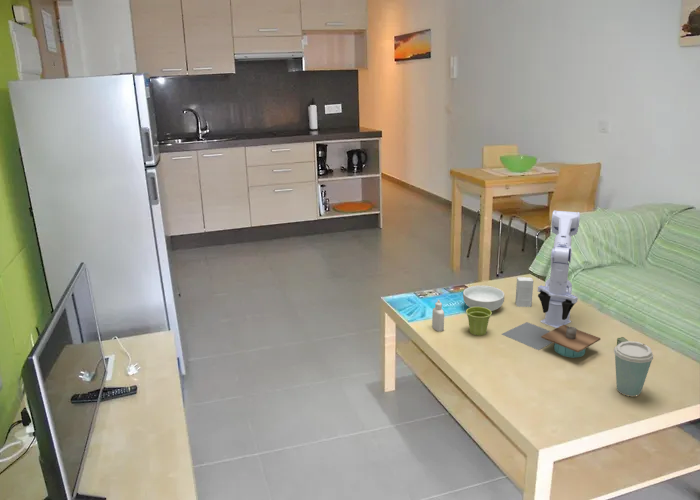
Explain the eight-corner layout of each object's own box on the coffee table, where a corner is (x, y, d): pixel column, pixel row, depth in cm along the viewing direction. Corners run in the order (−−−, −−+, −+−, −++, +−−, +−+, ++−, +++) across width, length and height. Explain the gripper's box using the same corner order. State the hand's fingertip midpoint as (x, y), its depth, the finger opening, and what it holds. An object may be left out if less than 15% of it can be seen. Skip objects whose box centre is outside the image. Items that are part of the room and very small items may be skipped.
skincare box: (529, 303, 231) (531, 277, 228) (531, 307, 227) (533, 280, 224) (514, 303, 232) (516, 276, 228) (516, 307, 228) (518, 280, 224)
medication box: (615, 347, 194) (616, 337, 193) (622, 346, 195) (623, 336, 193) (638, 364, 183) (639, 354, 182) (645, 363, 183) (647, 353, 182)
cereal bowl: (461, 299, 237) (462, 284, 235) (500, 300, 235) (501, 285, 233) (463, 316, 221) (464, 300, 219) (506, 317, 219) (507, 301, 217)
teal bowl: (564, 341, 199) (565, 329, 197) (590, 352, 191) (591, 339, 190) (548, 350, 193) (549, 337, 191) (574, 361, 185) (576, 348, 184)
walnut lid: (563, 326, 200) (564, 316, 198) (600, 339, 189) (601, 329, 188) (541, 337, 192) (542, 327, 190) (578, 352, 181) (579, 342, 180)
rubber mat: (526, 322, 214) (526, 322, 214) (563, 337, 202) (564, 336, 202) (501, 335, 205) (501, 334, 205) (538, 351, 193) (538, 350, 193)
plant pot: (462, 336, 205) (463, 315, 202) (467, 325, 213) (468, 305, 210) (488, 340, 201) (489, 318, 199) (492, 329, 210) (493, 308, 207)
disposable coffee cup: (629, 404, 161) (636, 359, 157) (600, 386, 171) (606, 343, 166) (655, 395, 165) (662, 351, 161) (625, 378, 175) (631, 336, 170)
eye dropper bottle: (443, 325, 213) (444, 297, 210) (443, 332, 208) (444, 303, 204) (432, 325, 214) (432, 296, 210) (432, 331, 209) (433, 302, 205)
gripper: (533, 277, 195) (530, 311, 199) (571, 288, 184) (567, 325, 188) (545, 272, 199) (542, 306, 203) (582, 283, 188) (578, 319, 192)
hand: (554, 315), depth 196 cm, fingers open, 7 cm apart
